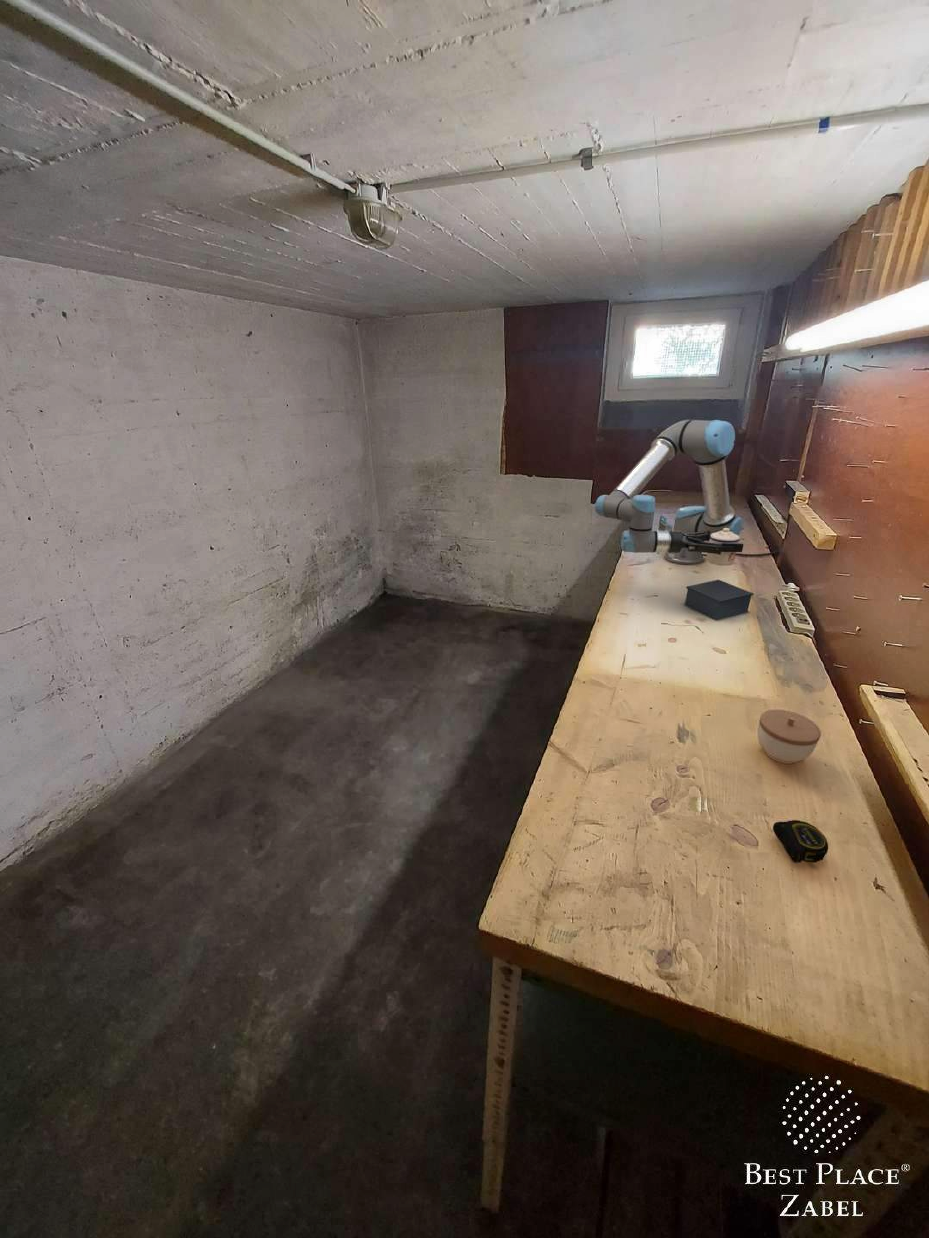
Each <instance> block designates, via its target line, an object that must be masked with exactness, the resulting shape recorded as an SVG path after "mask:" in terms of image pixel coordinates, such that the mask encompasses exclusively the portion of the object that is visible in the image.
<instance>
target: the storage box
mask: <svg viewBox="0 0 929 1238" xmlns="http://www.w3.org/2000/svg"><path fill="white" fill-rule="evenodd" d="M752 596H754V593H753V592H751V591H748V590H745V589H743V588H741V587H739V586H736V585H733V584H732V583H728V582H726V581H723V580H720V579H715V580H711V581H705V582H701V583H696V584H691V585H687V586H686V595H685V601H684V605H685V606H687V607H688V608H691V609H693V610H695V611H697V612H699V613H701V614H703V615H705V616H707V617H709V618H711V619H713V620H715V621H718V620H721V619H725V618H729V617H730V618H731V617H734V616H738V615H742V614H745V613H746V614H747V613H749V608H750V603H751V600H752Z"/></svg>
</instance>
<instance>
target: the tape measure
mask: <svg viewBox="0 0 929 1238" xmlns="http://www.w3.org/2000/svg"><path fill="white" fill-rule="evenodd" d="M772 831H773V833H774V835H775V836H776V838H777V839H778V841H779V842H780V843H781V844H782V847H783V848H784V850H785V851H786V854H787V855H788V857H789V858H790V861H792V863H794V864H801V863H802V862H803V863H809V864H810V863H811V864H812V863H818V862H820V861H823V860H824V858H825V856H826V855H827V854H828V851H829V843H828V840H827V838H826V836H825V835H824V834H823V832H822V831H820V830H819V829H818V828H817V827H816V826H814V825H813V824H811V823H809V822H806V821H803V820H799V819H792V820H787V821H776V822H775V823H773V826H772Z"/></svg>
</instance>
